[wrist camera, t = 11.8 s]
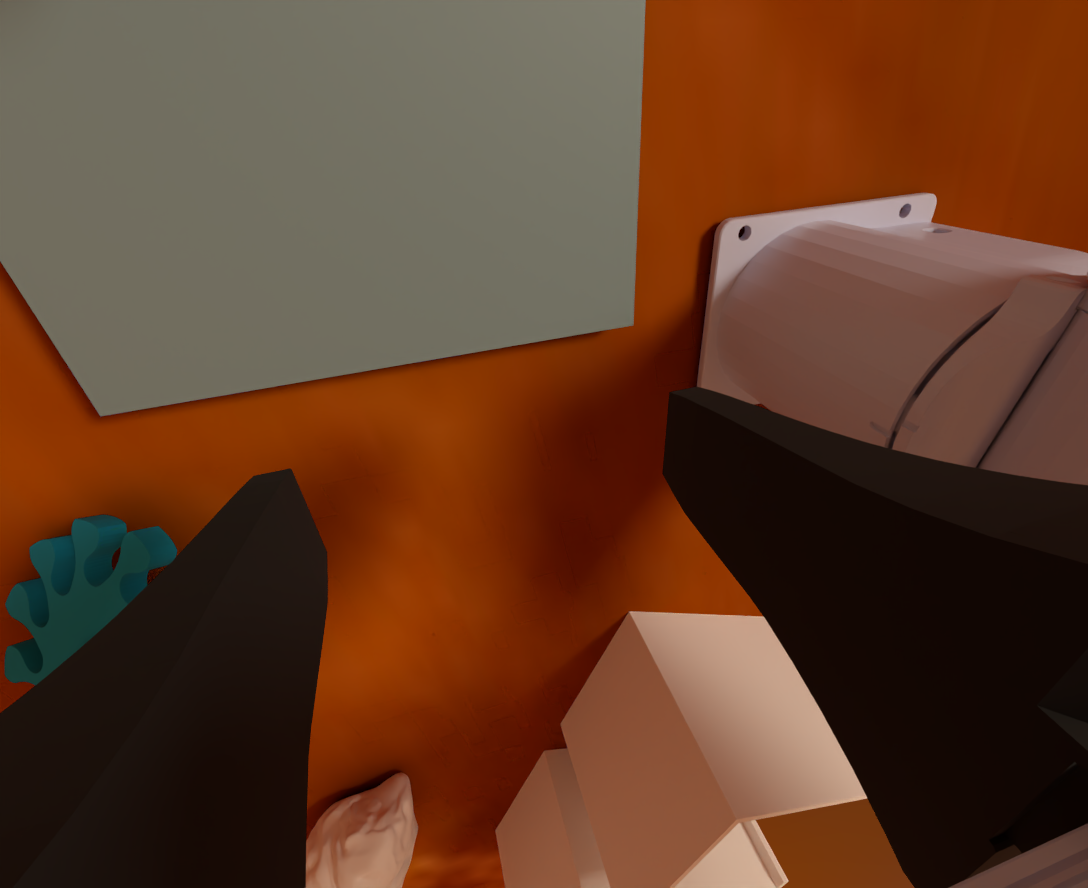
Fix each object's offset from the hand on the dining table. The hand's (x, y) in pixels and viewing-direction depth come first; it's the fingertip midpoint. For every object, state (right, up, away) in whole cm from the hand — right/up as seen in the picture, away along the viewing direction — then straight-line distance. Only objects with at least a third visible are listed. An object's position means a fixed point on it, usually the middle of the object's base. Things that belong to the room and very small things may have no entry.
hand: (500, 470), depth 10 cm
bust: (-11, -23, +23) cm, 34 cm away
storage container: (+6, -20, +28) cm, 35 cm away
